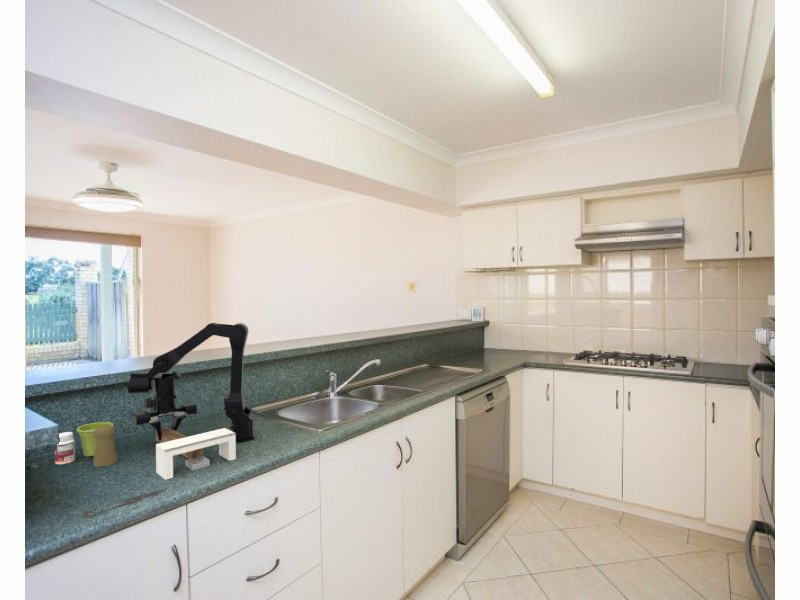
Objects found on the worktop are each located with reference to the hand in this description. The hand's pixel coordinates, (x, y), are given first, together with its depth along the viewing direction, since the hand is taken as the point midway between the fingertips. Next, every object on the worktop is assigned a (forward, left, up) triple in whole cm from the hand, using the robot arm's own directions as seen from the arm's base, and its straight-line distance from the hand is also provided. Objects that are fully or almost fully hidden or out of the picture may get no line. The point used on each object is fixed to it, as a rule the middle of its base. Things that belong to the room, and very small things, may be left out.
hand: (166, 438), depth 147 cm
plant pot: (+18, -8, -2) cm, 20 cm away
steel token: (0, +25, -2) cm, 25 cm away
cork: (+18, +3, -2) cm, 18 cm away
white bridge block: (0, +25, -2) cm, 25 cm away
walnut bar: (-1, +8, -1) cm, 8 cm away
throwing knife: (+20, +35, -2) cm, 41 cm away
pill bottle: (+26, -7, -2) cm, 27 cm away
